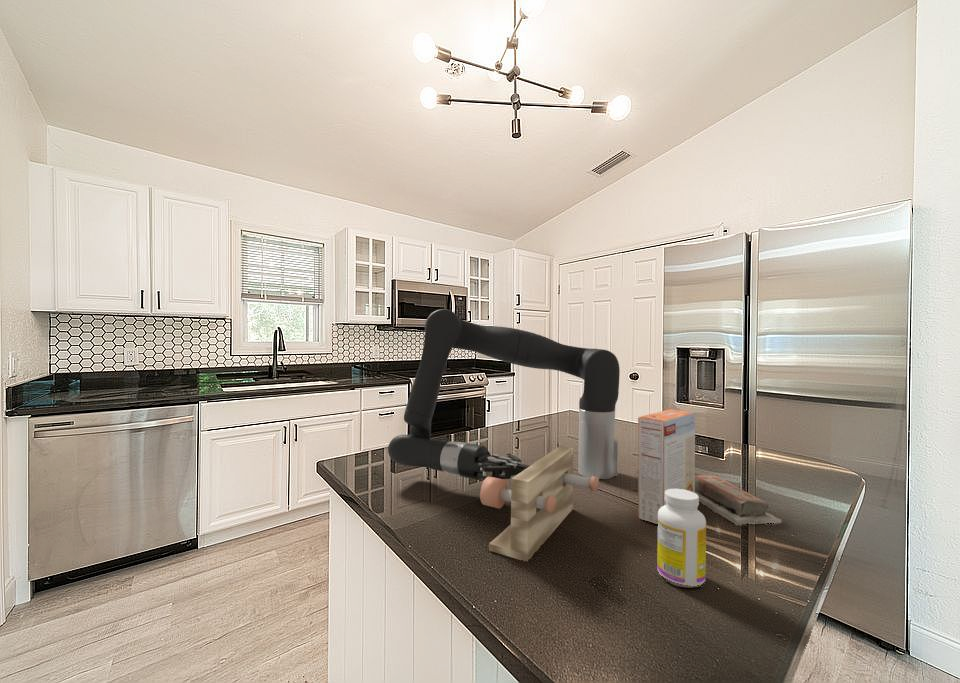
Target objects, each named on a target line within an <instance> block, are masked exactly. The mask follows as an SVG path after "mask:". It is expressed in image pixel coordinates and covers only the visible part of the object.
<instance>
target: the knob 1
mask: <svg viewBox="0 0 960 683" xmlns="http://www.w3.org/2000/svg"><path fill="white" fill-rule="evenodd" d="M479 498H480V502H481V504H482V505H483V506H488V507H491V508H495V509H501V508H503V507H504V505H505V503H506V502H509V503H511V489H509V488H508V483H507V480H506V479H499V478H494V477H486V478H485V480H484V479H483V481H482V483H481V487H480V492H479ZM536 508H539V509H543V510H545V512H546V513H549V514H553V513H554V512H555V509H556V498H555V497H554V496H547V498H546V497H542V496H537V499H536Z"/></svg>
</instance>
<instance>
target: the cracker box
mask: <svg viewBox="0 0 960 683" xmlns="http://www.w3.org/2000/svg"><path fill="white" fill-rule="evenodd" d="M637 424H638V425H637V428H638V430H637V438H638V439H637V442H638V443H637V466H638V467H637V478H638V480H637V481H638V482H637V519H638V518H639V519H638V520H640V519H642V520H641V521H643V520H645V521H644V522H646V521H649V522H652V523H655V524H658V511H659V509H660V508H661V507H662V506H664V505H666V501H665V491H666V490H667V489H683V490H688V491H691V492H693V493H695V474H696V473H695V471H696V470H695V469H696V465H695V464H696V463H695V462H696V461H695V460H696V449H695V448H696V412H695V411H687V410H680V409H673V408H672V409H671V408H670V409H666V410H661V411H658V412H653V413H650V414H646V415H642V416H638V418H637ZM649 522H648V523H649Z"/></svg>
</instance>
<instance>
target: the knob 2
mask: <svg viewBox="0 0 960 683" xmlns="http://www.w3.org/2000/svg"><path fill="white" fill-rule="evenodd" d="M537 461H538V460H535V461H534V462H533V463H532V464H534V463H535V462H537ZM563 483H564V484H569V485H573V487H574V486H575V487H580V488H585V489H590V490H589V491H590V492H594V493H597V492H598V491H599V485H600V479H599V478H598V477H596V476H592V477H591V478H589V477H585V476H582V475H578V474H577V475H576V474H573V475H572V474H567V473H563Z"/></svg>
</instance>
